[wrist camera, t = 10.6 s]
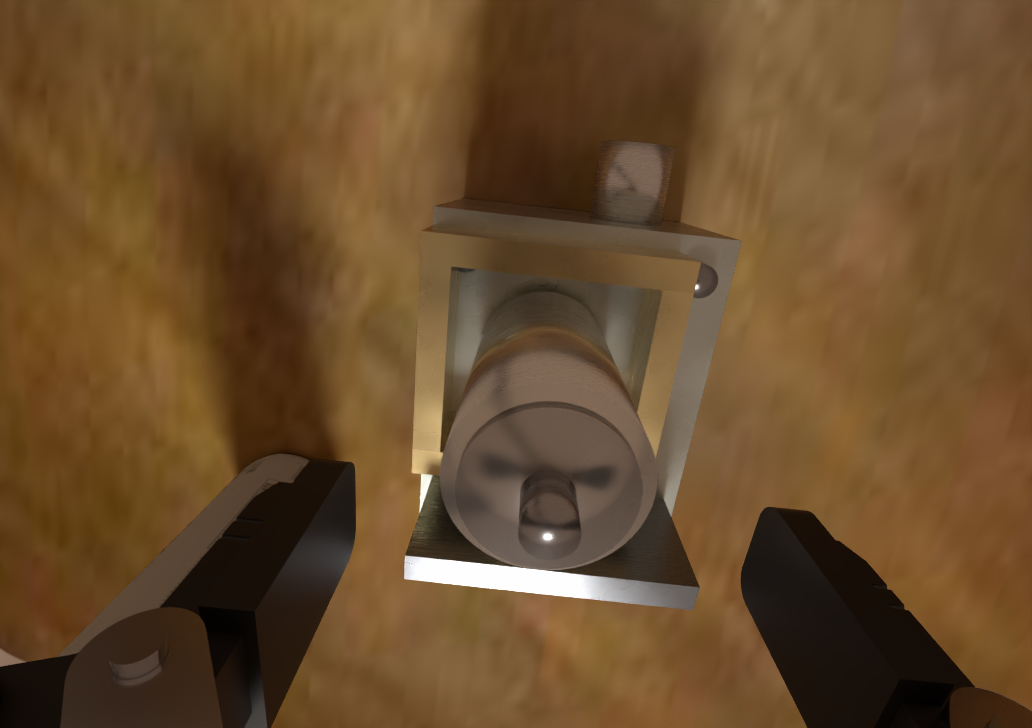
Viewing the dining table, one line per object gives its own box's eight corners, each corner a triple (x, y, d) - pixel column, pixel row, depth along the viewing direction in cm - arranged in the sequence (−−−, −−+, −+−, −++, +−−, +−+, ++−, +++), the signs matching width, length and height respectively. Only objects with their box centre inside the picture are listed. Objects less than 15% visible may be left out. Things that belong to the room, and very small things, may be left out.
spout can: (485, 285, 19) (428, 407, 9) (613, 298, 19) (704, 435, 9) (476, 401, 20) (419, 618, 10) (594, 414, 20) (652, 641, 10)
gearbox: (467, 133, 24) (401, 87, 12) (694, 158, 24) (854, 138, 12) (447, 442, 30) (388, 621, 18) (629, 462, 30) (694, 654, 18)
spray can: (231, 447, 31) (-239, 865, 12) (341, 450, 31) (38, 880, 12) (249, 536, 33) (-122, 1004, 14) (351, 540, 33) (111, 1018, 14)
